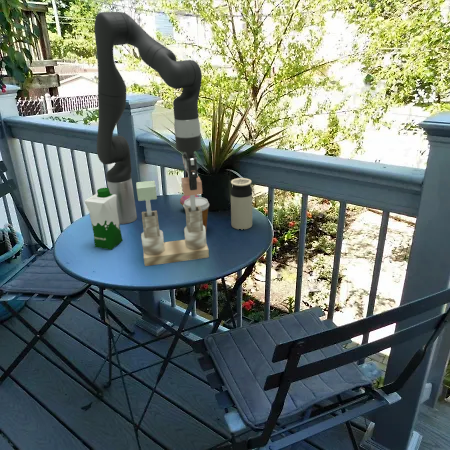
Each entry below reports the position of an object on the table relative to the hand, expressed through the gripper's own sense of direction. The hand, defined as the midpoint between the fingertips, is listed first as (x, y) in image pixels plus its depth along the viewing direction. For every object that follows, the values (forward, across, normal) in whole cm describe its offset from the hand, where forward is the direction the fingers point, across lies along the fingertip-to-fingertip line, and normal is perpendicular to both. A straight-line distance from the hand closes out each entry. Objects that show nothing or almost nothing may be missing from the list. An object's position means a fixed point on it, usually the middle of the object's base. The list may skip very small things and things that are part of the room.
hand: (191, 185), depth 125 cm
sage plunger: (+9, 0, +14) cm, 17 cm away
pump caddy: (+24, 0, +7) cm, 25 cm away
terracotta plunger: (+9, 0, 0) cm, 9 cm away
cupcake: (+24, +35, -3) cm, 43 cm away
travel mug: (+24, +16, -20) cm, 35 cm away
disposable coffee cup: (+24, +16, -3) cm, 29 cm away
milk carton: (+24, +14, +30) cm, 41 cm away
